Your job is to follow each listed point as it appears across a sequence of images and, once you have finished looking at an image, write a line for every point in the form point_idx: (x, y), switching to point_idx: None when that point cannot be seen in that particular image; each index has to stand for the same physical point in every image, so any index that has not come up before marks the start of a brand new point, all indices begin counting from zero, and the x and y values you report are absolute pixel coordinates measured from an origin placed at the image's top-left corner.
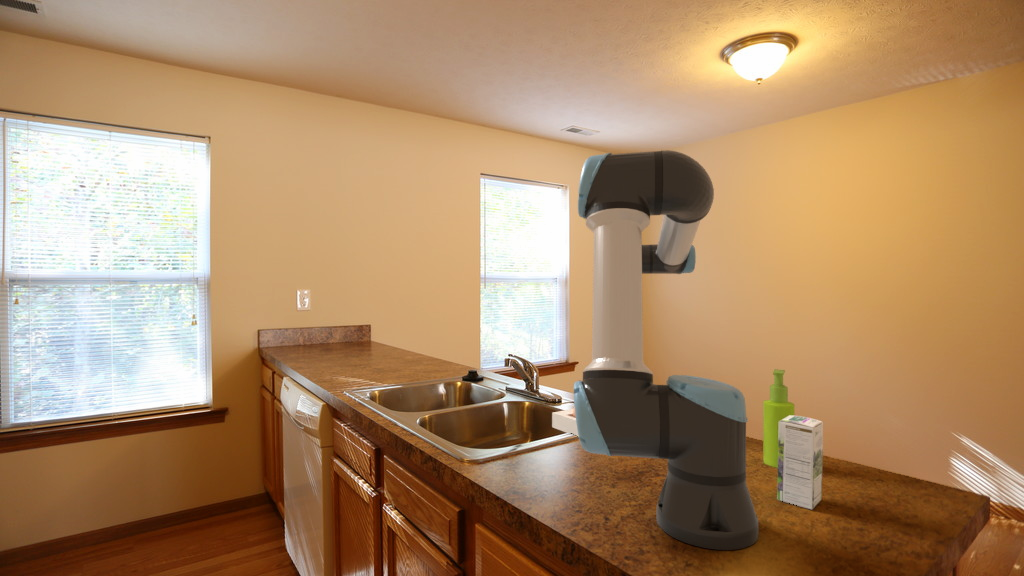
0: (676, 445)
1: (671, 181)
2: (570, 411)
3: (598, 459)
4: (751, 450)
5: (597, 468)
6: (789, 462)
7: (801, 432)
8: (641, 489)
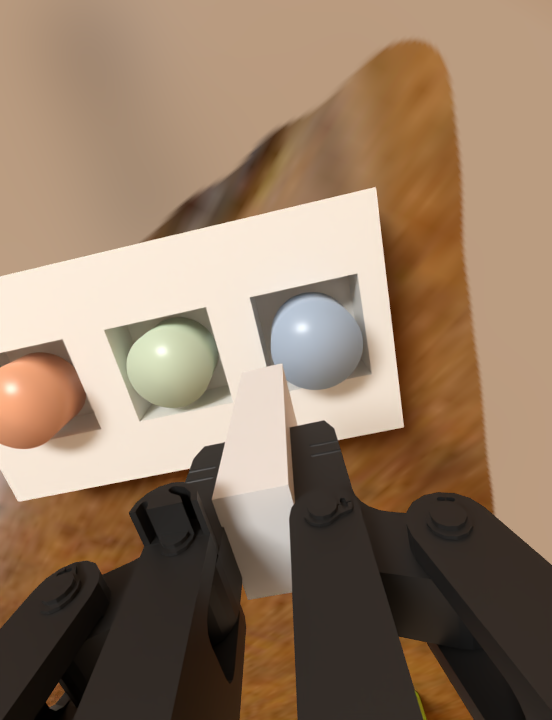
0: None
1: None
2: (2, 314)
3: (27, 583)
4: (418, 645)
5: (5, 619)
6: None
7: None
8: (52, 703)
